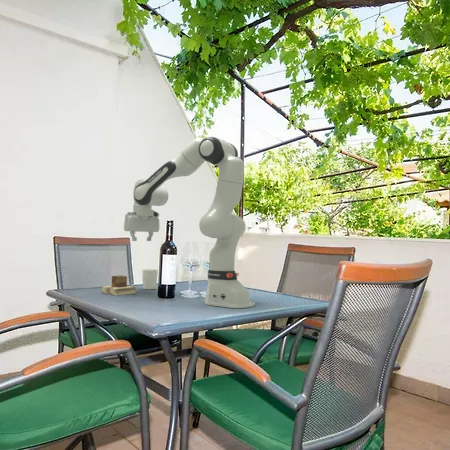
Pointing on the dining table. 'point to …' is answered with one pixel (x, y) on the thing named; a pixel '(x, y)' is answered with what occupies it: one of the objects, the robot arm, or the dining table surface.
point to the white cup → (149, 278)
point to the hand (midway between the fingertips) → (141, 241)
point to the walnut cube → (119, 281)
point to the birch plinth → (118, 290)
